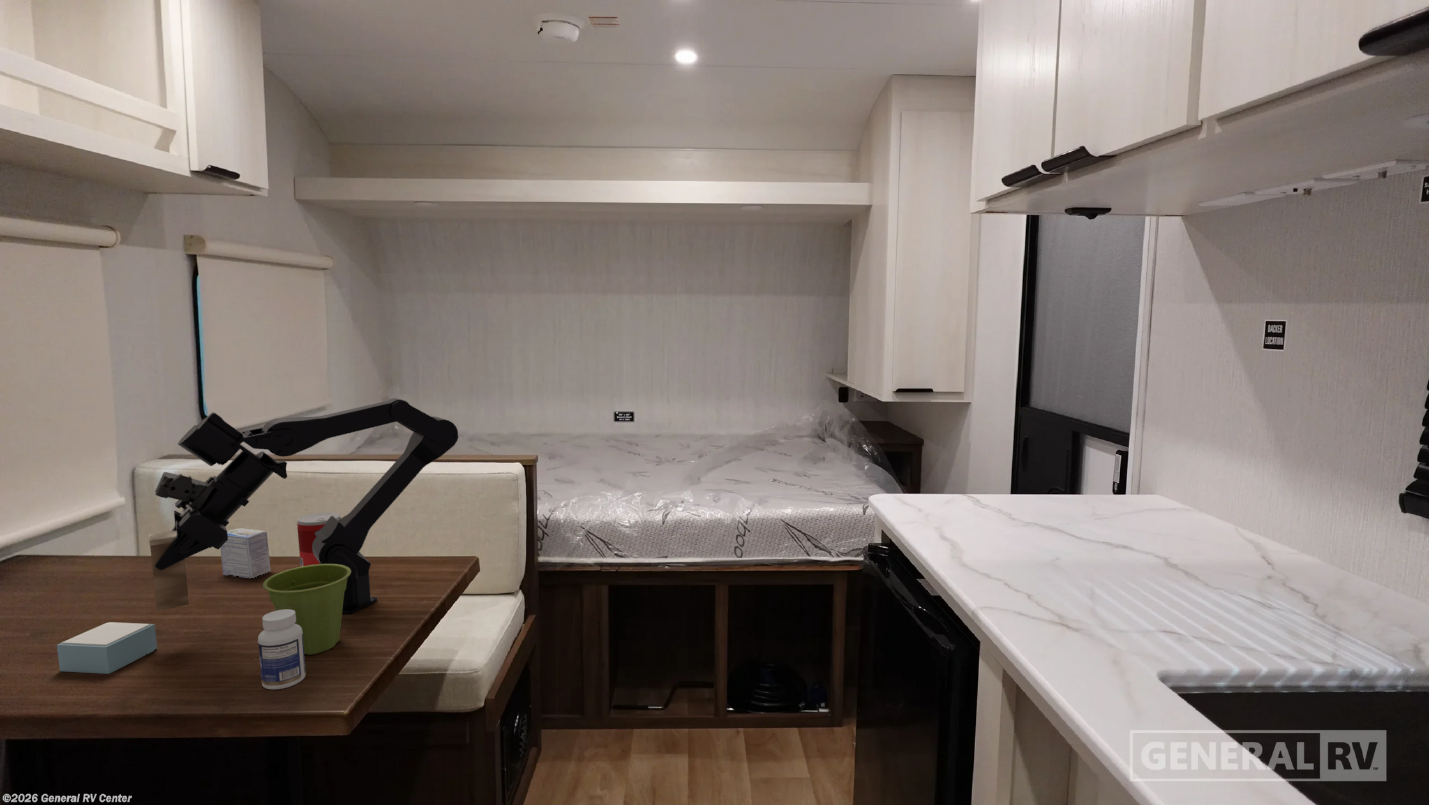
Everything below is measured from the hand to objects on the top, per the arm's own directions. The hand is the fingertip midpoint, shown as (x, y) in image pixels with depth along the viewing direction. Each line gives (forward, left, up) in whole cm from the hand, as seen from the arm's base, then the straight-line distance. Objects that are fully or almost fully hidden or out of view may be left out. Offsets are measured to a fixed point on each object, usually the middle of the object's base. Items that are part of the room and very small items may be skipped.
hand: (157, 564), depth 113 cm
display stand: (+4, +5, -13) cm, 15 cm away
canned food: (+5, -36, -13) cm, 38 cm away
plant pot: (-22, -7, -13) cm, 27 cm away
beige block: (-1, -1, -7) cm, 7 cm away
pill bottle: (-27, +3, -13) cm, 31 cm away
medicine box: (+18, -30, -13) cm, 37 cm away
